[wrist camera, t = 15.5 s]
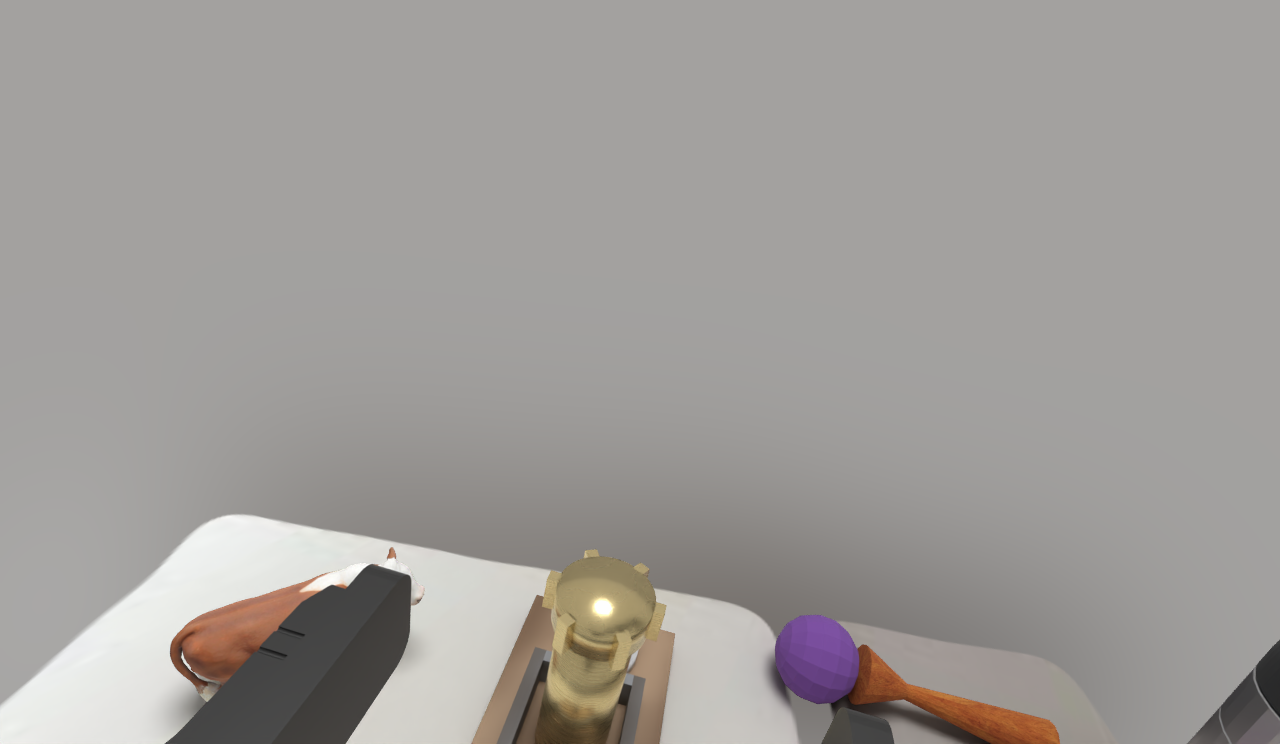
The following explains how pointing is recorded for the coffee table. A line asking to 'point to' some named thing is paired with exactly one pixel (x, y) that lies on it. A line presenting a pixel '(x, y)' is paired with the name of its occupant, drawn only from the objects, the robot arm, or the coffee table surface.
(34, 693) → the coffee table surface
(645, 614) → the brass pinion
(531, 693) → the board
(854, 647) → the kendama
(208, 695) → the bull figurine
